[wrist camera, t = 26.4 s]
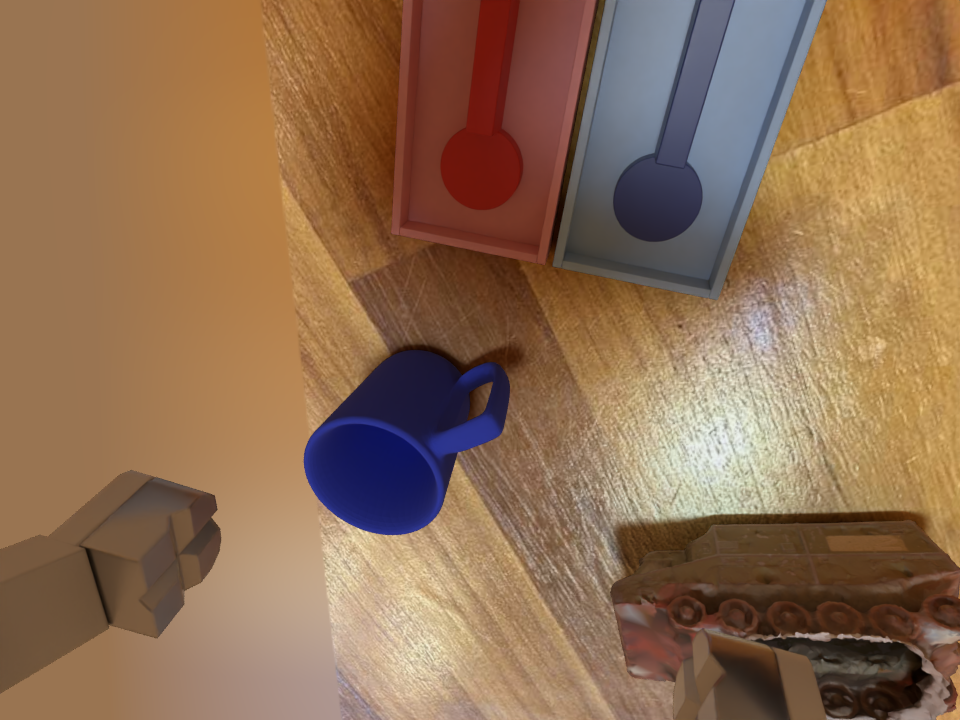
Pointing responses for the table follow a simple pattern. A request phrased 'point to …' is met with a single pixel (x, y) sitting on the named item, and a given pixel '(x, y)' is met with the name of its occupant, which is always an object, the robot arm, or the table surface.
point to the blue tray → (716, 145)
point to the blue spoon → (675, 139)
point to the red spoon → (486, 118)
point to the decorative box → (808, 610)
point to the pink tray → (527, 118)
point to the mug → (401, 441)
